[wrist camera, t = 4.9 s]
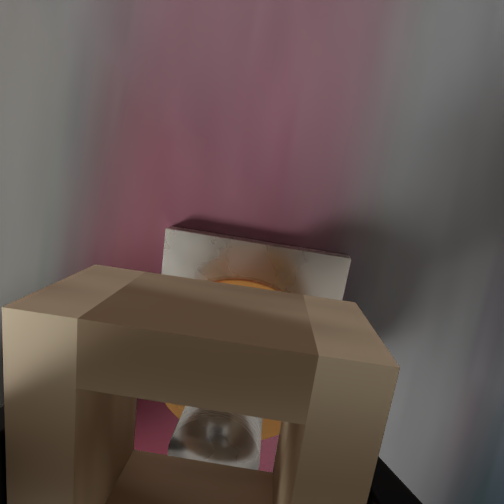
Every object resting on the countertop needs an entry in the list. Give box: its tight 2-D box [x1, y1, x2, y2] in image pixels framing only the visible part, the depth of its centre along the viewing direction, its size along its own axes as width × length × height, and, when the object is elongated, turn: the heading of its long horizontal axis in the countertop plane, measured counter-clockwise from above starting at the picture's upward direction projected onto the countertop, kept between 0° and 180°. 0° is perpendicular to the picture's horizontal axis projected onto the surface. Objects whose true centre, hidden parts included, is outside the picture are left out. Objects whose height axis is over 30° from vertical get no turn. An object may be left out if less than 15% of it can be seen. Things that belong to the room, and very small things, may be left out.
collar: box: [2, 264, 400, 504], centre depth 8 cm, size 7×7×3 cm
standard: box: [162, 226, 351, 470], centre depth 15 cm, size 10×10×10 cm
